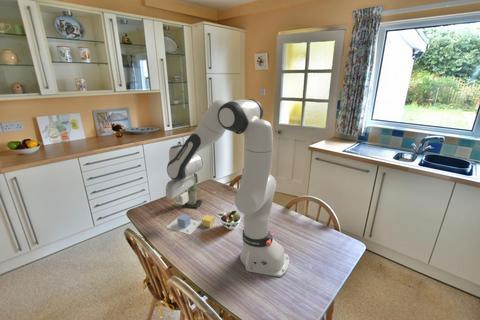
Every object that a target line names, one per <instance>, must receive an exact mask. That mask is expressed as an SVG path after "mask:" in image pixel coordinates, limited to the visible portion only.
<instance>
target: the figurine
mask: <svg viewBox="0 0 480 320" xmlns="http://www.w3.org/2000/svg"><path fill="white" fill-rule="evenodd" d="M194 181H195V182H194V185H192V186H191V187H190V188H188V189H189V190H188V199H189V201H188V202H186V203H185V204H184V205H182V208H183V209H184V208H186V209H193V210H198V208H199V207H201V206H202V203H203V200H202V199H198V194H197V193H198V192H197V191H198V190H197V184H198V181H199V178H198V174H197V173H194Z"/></svg>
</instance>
